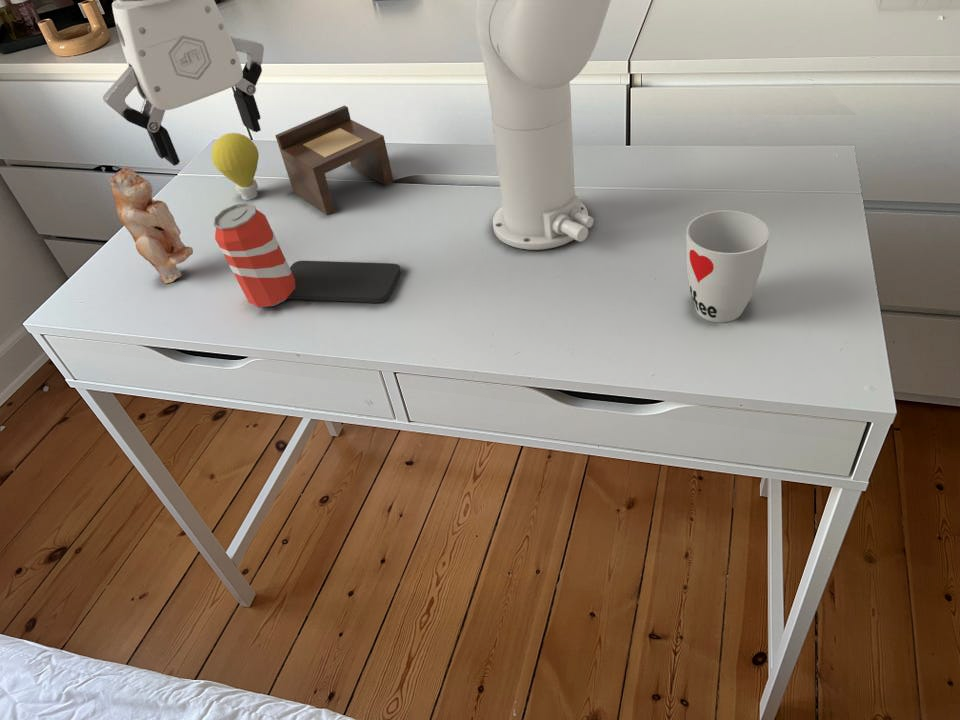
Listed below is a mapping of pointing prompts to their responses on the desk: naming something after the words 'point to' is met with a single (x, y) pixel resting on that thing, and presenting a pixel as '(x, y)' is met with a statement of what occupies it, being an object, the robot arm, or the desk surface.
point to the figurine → (149, 223)
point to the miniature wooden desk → (331, 154)
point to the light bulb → (237, 162)
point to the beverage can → (254, 255)
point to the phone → (344, 281)
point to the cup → (724, 262)
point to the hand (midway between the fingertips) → (213, 144)
